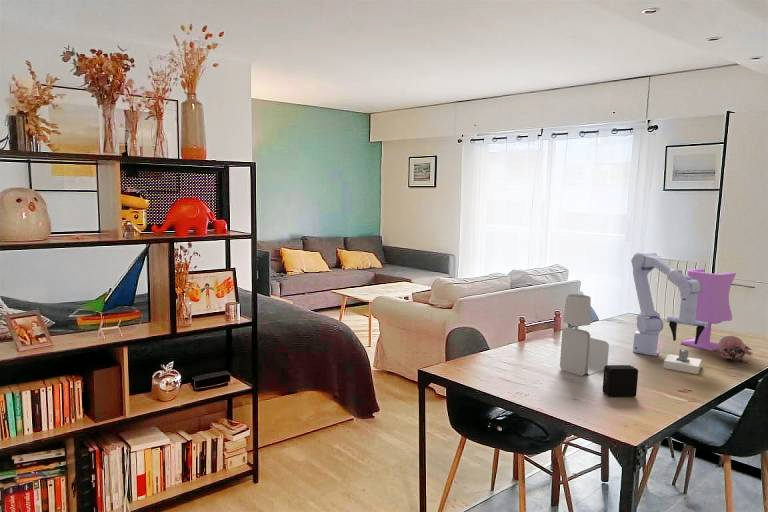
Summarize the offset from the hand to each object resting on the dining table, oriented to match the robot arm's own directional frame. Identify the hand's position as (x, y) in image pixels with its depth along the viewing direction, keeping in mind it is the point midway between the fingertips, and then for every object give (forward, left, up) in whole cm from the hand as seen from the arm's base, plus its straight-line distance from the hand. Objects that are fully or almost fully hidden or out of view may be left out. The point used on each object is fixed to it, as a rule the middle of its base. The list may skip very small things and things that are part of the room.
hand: (685, 342), depth 220 cm
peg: (0, -3, -10) cm, 10 cm away
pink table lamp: (+4, +41, -10) cm, 42 cm away
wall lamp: (-32, -33, -10) cm, 47 cm away
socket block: (0, -3, -10) cm, 10 cm away
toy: (+17, +21, -10) cm, 29 cm away
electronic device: (-14, -53, -10) cm, 56 cm away
